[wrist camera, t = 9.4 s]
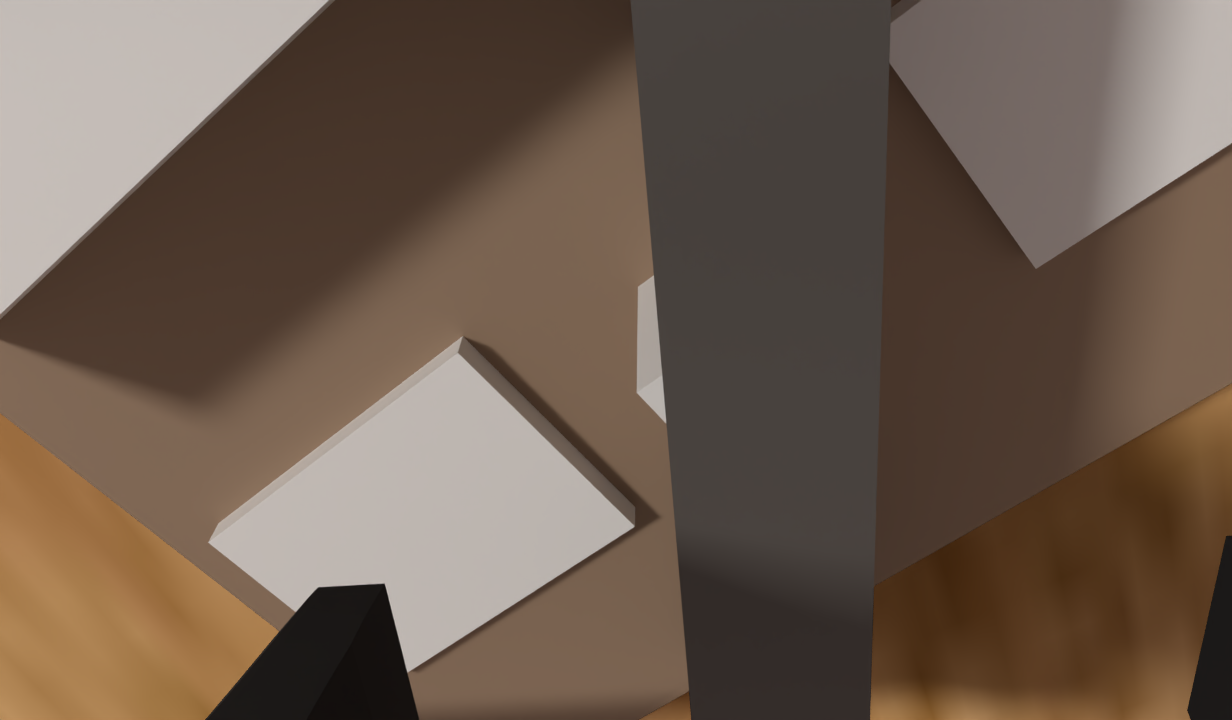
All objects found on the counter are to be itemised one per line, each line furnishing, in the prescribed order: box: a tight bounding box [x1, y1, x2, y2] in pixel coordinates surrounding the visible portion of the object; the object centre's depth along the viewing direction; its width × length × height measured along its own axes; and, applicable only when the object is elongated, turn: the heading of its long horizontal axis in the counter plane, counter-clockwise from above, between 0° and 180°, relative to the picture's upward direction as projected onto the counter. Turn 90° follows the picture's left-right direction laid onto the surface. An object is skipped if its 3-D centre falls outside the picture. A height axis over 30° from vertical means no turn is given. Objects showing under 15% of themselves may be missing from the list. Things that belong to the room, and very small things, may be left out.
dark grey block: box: [630, 0, 891, 720], centre depth 14 cm, size 11×14×5 cm
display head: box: [0, 0, 1232, 720], centre depth 14 cm, size 20×20×5 cm
